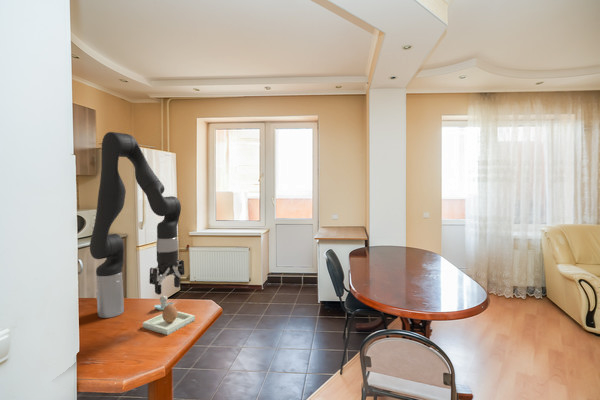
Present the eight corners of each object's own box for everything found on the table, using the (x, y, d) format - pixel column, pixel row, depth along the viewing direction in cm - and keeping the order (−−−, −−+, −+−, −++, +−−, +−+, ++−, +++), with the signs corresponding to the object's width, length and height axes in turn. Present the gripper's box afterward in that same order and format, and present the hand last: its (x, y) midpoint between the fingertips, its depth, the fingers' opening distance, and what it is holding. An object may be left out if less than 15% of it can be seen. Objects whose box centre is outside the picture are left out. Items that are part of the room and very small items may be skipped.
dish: (143, 327, 119) (142, 322, 119) (171, 314, 131) (171, 309, 131) (167, 335, 113) (167, 329, 113) (194, 320, 125) (194, 315, 125)
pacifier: (154, 308, 138) (154, 313, 132) (153, 294, 138) (154, 298, 132) (172, 305, 141) (173, 309, 136) (171, 291, 141) (172, 295, 136)
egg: (161, 326, 119) (160, 308, 119) (164, 319, 124) (163, 302, 124) (176, 324, 120) (176, 306, 120) (178, 318, 126) (177, 301, 125)
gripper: (175, 244, 128) (175, 283, 129) (144, 251, 115) (145, 294, 117) (188, 246, 125) (189, 286, 126) (158, 254, 112) (159, 298, 113)
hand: (168, 290), depth 121 cm, fingers open, 8 cm apart
